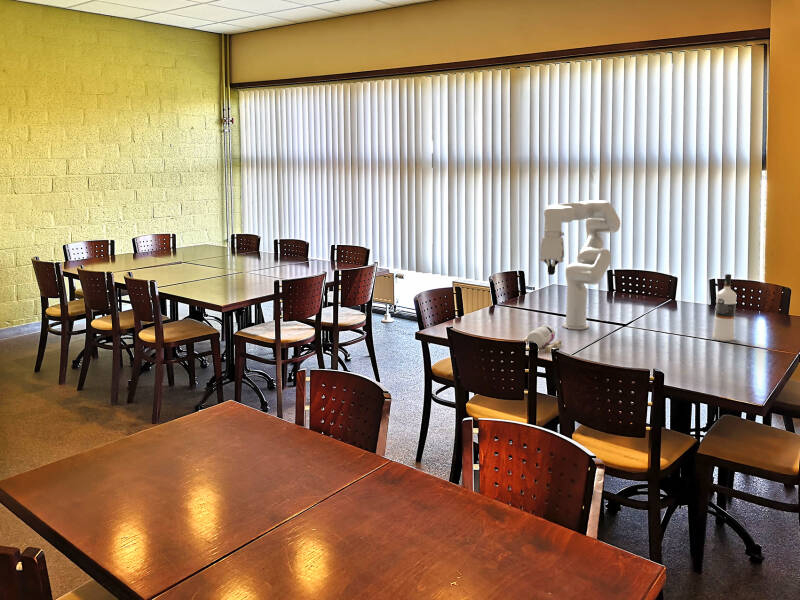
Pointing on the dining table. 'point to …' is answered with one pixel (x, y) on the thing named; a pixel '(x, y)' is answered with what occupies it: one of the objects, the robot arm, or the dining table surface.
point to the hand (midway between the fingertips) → (551, 274)
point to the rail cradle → (547, 346)
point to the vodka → (725, 312)
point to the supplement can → (541, 335)
